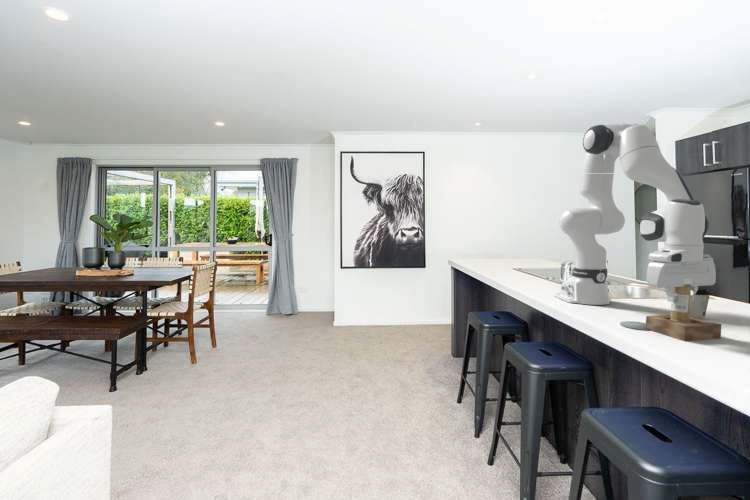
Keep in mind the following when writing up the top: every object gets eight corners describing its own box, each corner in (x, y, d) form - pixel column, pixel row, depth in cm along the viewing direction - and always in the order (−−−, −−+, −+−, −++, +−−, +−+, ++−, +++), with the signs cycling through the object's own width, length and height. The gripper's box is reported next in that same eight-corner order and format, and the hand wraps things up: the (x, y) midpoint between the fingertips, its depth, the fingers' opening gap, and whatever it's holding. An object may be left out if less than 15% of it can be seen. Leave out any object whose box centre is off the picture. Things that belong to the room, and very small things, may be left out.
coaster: (613, 323, 119) (613, 322, 119) (637, 321, 120) (637, 320, 120) (637, 331, 110) (637, 329, 110) (662, 329, 112) (662, 328, 112)
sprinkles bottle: (692, 322, 107) (694, 277, 106) (686, 324, 105) (688, 278, 104) (672, 318, 111) (675, 275, 110) (667, 321, 109) (669, 276, 108)
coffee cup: (714, 320, 120) (715, 291, 120) (688, 319, 122) (689, 290, 122) (702, 315, 127) (704, 287, 126) (678, 314, 129) (679, 286, 128)
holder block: (645, 328, 112) (646, 316, 112) (678, 326, 114) (679, 314, 114) (684, 340, 101) (685, 326, 100) (720, 338, 102) (721, 324, 102)
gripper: (701, 252, 111) (699, 297, 112) (643, 254, 108) (641, 300, 109) (724, 254, 105) (721, 301, 106) (663, 256, 102) (661, 305, 103)
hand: (680, 301), depth 108 cm, fingers closed on sprinkles bottle, 4 cm apart
